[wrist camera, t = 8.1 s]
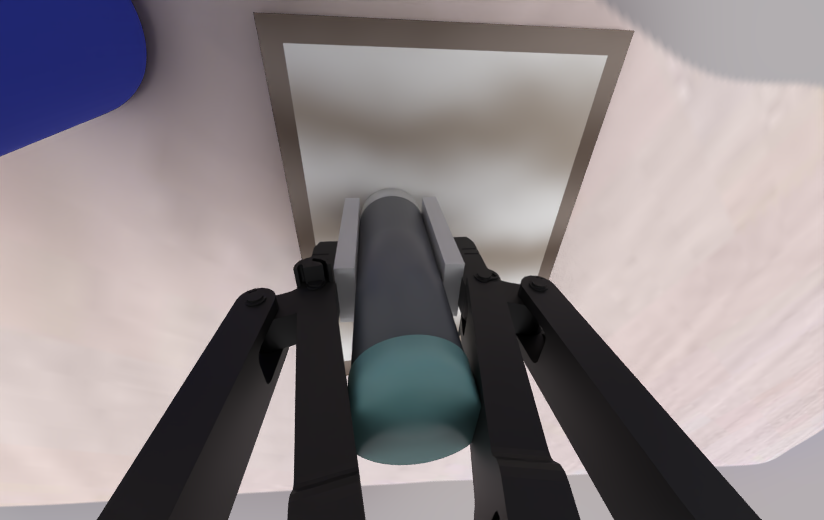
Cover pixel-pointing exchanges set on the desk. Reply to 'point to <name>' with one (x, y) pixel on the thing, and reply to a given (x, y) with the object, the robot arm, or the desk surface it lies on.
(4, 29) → the mug
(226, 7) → the desk surface
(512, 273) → the clipboard
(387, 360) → the marker
